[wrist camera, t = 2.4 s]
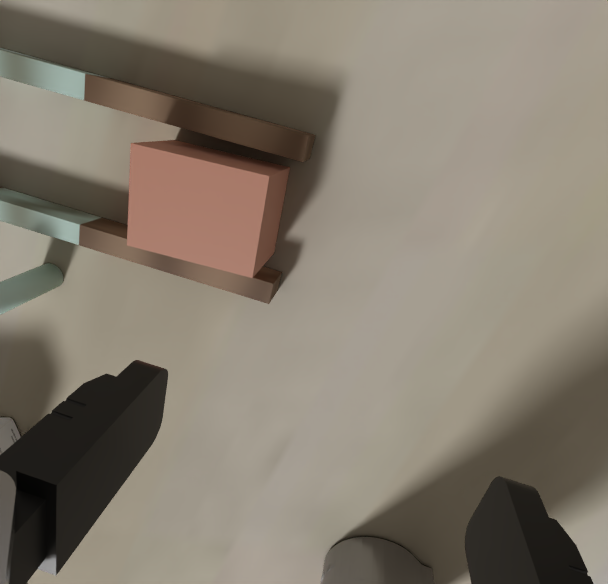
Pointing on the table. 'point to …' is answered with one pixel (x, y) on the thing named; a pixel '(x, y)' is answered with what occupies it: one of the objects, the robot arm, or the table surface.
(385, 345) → the table surface
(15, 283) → the post
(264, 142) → the slot track
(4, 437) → the ink box
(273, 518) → the table surface
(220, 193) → the block
